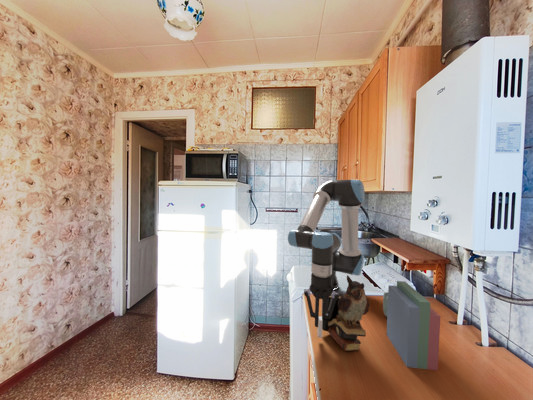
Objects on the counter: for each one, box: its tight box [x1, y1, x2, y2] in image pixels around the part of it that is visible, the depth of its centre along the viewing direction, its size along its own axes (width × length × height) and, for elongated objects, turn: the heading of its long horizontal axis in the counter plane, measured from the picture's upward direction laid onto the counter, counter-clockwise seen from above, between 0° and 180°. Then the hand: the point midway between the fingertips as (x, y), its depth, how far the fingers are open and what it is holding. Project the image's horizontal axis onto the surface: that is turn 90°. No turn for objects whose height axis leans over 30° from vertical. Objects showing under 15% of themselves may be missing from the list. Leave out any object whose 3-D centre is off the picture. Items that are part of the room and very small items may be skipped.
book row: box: [386, 280, 441, 371], centre depth 75 cm, size 16×9×22 cm, turn 171°
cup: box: [382, 291, 388, 318], centre depth 95 cm, size 8×8×10 cm
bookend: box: [322, 274, 370, 352], centre depth 79 cm, size 15×11×25 cm
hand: (319, 335), depth 80 cm, fingers closed
